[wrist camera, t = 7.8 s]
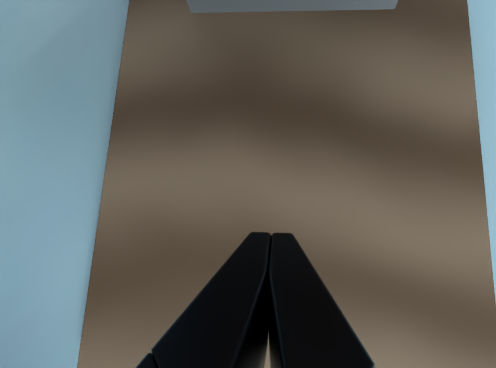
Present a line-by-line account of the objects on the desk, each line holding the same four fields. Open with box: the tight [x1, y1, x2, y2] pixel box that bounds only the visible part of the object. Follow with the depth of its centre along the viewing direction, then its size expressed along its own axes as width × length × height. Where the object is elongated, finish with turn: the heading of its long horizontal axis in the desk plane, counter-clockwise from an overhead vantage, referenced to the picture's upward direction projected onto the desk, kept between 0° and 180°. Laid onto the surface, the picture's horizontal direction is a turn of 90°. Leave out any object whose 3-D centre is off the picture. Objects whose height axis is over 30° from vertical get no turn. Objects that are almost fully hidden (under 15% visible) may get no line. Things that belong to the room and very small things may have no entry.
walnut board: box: [77, 0, 496, 368], centre depth 17 cm, size 20×15×1 cm
